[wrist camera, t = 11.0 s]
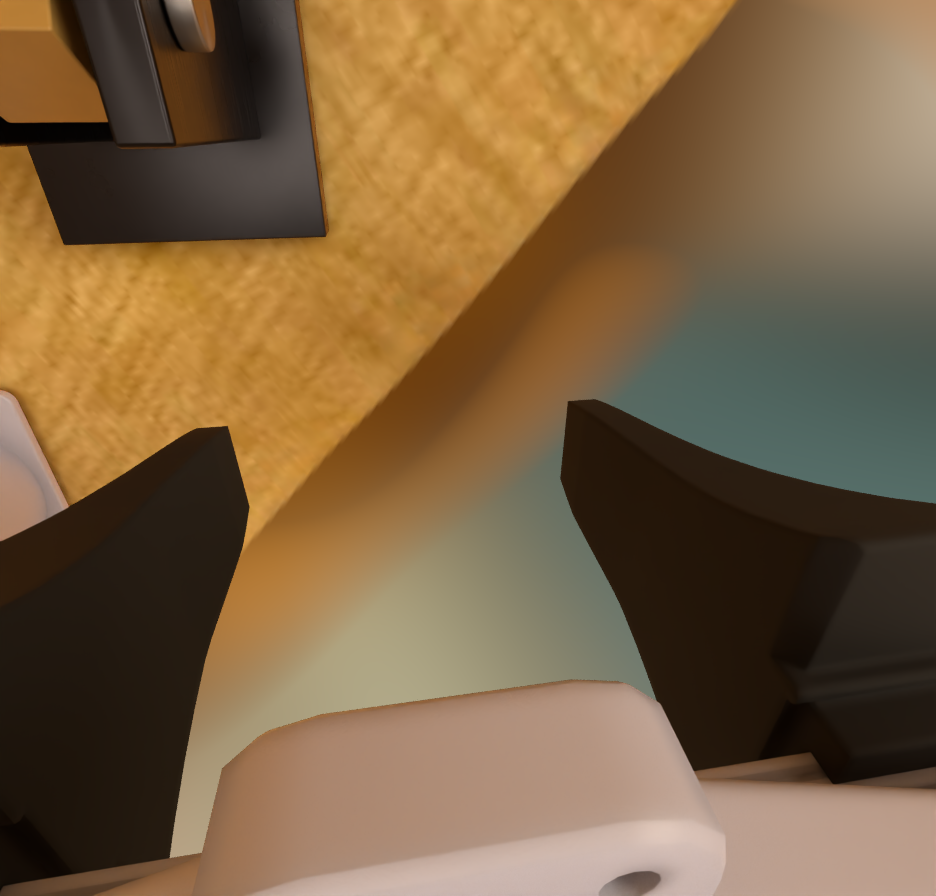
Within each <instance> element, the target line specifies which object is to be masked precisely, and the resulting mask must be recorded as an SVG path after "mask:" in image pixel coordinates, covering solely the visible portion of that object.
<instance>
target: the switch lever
mask: <svg viewBox="0 0 936 896" xmlns="http://www.w3.org/2000/svg"><path fill="white" fill-rule="evenodd" d="M0 116H1V117H2V118H3V119H5V120H6V121H7V122H10V123H38V122H108V120H107V117H106V113H105V110H104V107H103V103H102V100H101V97H100V93H99V90H98V87H97V83H96V80H95V77H94V73H93V70H92V67H91V63H90V60H89V57H88V53H87V50H86V47H85V43H84V40H83V37H82V33H81V30H80V27H79V23H78V20H77V17H76V13H75V10H74V7H73V3H72V0H0Z"/></svg>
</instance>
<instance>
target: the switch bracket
mask: <svg viewBox="0 0 936 896" xmlns="http://www.w3.org/2000/svg"><path fill="white" fill-rule="evenodd" d="M72 3H73V7H74V10H75V13H76V17H77V20H78V23H79V27H80V30H81V33H82V37H83V40H84V43H85V47H86V50H87V53H88V57H89V60H90V63H91V67H92V70H93V73H94V77H95V80H96V83H97V87H98V90H99V93H100V97H101V100H102V103H103V107H104V110H105V113H106V117H107V120H108V122H38V123H10V122H7V121H6V120H5V119H3V118H2V117H1V116H0V147H6V146H26V145H27V147H28V150H29V152H30V155H31V158H32V160H33V163H34V166H35V168H36V171H37V174H38V176H39V179H40V182H41V184H42V187H43V190H44V192H45V195H46V198H47V200H48V203H49V206H50V208H51V211H52V214H53V216H54V219H55V222H56V224H57V227H58V230H59V233H60V235H61V238H62V241H63V243H64V245H87V244H118V243H149V242H180V241H211V240H242V239H273V238H304V237H326V235H327V233H328V231H329V227H328V220H327V212H326V204H325V197H324V189H323V182H322V174H321V166H320V159H319V151H318V143H317V136H316V128H315V121H314V113H313V105H312V98H311V90H310V83H309V75H308V67H307V60H306V52H305V44H304V37H303V29H302V22H301V14H300V6H299V0H72Z"/></svg>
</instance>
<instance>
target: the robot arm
mask: <svg viewBox="0 0 936 896" xmlns="http://www.w3.org/2000/svg"><path fill="white" fill-rule="evenodd" d="M560 478H561V482H562V485H563V488H564V491H565V494H566V497H567V500H568V502H569V505H570V508H571V510H572V513H573V515H574V517H575V519H576V521H577V523H578V525H579V527H580V529H581V531H582V533H583V535H584V536H585V538H586V540H587V542H588V544H589V546H590V548H591V550H592V552H593V553H594V555H595V557H596V559H597V561H598V563H599V565H600V566H601V568H602V570H603V572H604V574H605V576H606V578H607V580H608V581H609V583H610V585H611V587H612V589H613V591H614V593H615V595H616V597H617V599H618V601H619V603H620V605H621V608H622V610H623V612H624V615H625V617H626V620H627V622H628V625H629V627H630V630H631V633H632V635H633V637H634V640H635V643H636V645H637V648H638V650H639V653H640V656H641V659H642V661H643V664H644V667H645V669H646V672H647V675H648V678H649V680H650V683H651V686H652V688H653V691H654V694H655V697H656V700H657V701H655V700H654V699H652V698H650V697H649V696H647V695H645V694H644V693H642V692H641V691H639V690H637V689H636V688H634V687H632V686H631V685H629V684H626V683H622V682H618V681H597V680H564V681H558V682H550V683H543V684H536V685H528V686H521V687H514V688H508V689H500V690H493V691H485V692H478V693H471V694H464V695H457V696H449V697H443V698H435V699H428V700H421V701H413V702H406V703H399V704H392V705H385V706H378V707H371V708H363V709H356V710H349V711H342V712H334V713H327V714H321V715H317V716H314V717H311V718H308V719H305V720H301V721H298V722H295V723H292V724H288V725H285V726H282V727H278V728H275V729H272V730H269V731H267V732H265V733H264V734H262V735H260V736H259V737H257V738H256V739H255V740H254V741H253V742H252V743H251V744H249V745H248V746H247V747H246V748H245V749H244V750H243V751H241V752H240V753H239V754H238V755H237V756H236V757H235V758H234V759H232V760H231V761H230V762H229V763H228V764H227V765H226V766H225V767H223V768H222V772H221V776H220V780H219V784H218V788H217V793H216V797H215V801H214V805H213V809H212V813H211V818H210V822H209V826H208V830H207V834H206V839H205V843H204V847H203V851H202V853H199V854H192V855H187V856H180V857H174V858H169V857H170V850H171V843H172V835H173V829H174V822H175V816H176V810H177V804H178V798H179V791H180V786H181V779H182V773H183V768H184V761H185V756H186V751H187V746H188V740H189V735H190V730H191V725H192V720H193V714H194V709H195V704H196V700H197V695H198V691H199V686H200V681H201V677H202V672H203V667H204V663H205V659H206V656H207V652H208V648H209V645H210V642H211V638H212V635H213V633H214V630H215V627H216V624H217V621H218V618H219V615H220V612H221V609H222V607H223V604H224V601H225V598H226V595H227V592H228V589H229V586H230V583H231V581H232V578H233V575H234V572H235V569H236V565H237V562H238V560H239V557H240V553H241V550H242V547H243V542H244V537H245V532H246V526H247V520H248V513H249V503H248V499H247V496H246V492H245V488H244V485H243V481H242V477H241V473H240V470H239V466H238V462H237V459H236V455H235V451H234V447H233V444H232V440H231V436H230V433H229V429H228V426H223V427H209V428H196V429H194V430H192V431H190V432H188V433H186V434H185V435H183V436H181V437H180V438H178V439H176V440H175V441H173V442H172V443H170V444H169V445H167V446H166V447H164V448H163V449H161V450H159V451H158V452H156V453H155V454H153V455H152V456H150V457H149V458H147V459H146V460H144V461H143V462H141V463H140V464H138V465H137V466H135V467H134V468H132V469H131V470H129V471H128V472H126V473H125V474H123V475H121V476H120V477H118V478H117V479H115V480H113V481H112V482H110V483H108V484H107V485H105V486H103V487H102V488H100V489H98V490H97V491H95V492H93V493H92V494H90V495H88V496H87V497H85V498H83V499H82V500H80V501H79V502H77V503H75V504H73V505H72V506H70V507H69V505H68V503H67V501H66V499H65V497H64V495H63V493H62V491H61V489H60V487H59V485H58V483H57V481H56V479H55V477H54V475H53V473H52V470H51V468H50V466H49V464H48V462H47V460H46V458H45V456H44V454H43V452H42V450H41V448H40V446H39V444H38V442H37V440H36V437H35V435H34V433H33V431H32V429H31V427H30V425H29V423H28V421H27V419H26V417H25V415H24V413H23V411H22V409H21V407H20V405H19V402H18V401H17V399H16V398H15V397H14V396H13V395H12V394H10V393H9V392H6V391H4V390H0V896H936V504H934V503H926V502H919V501H911V500H903V499H895V498H888V497H882V496H877V495H871V494H866V493H859V492H854V491H849V490H844V489H839V488H834V487H830V486H825V485H820V484H815V483H812V482H808V481H803V480H800V479H796V478H792V477H788V476H784V475H780V474H776V473H773V472H769V471H766V470H763V469H759V468H756V467H753V466H750V465H747V464H744V463H741V462H739V461H736V460H732V459H729V458H727V457H724V456H721V455H719V454H715V453H713V452H710V451H708V450H706V449H703V448H701V447H699V446H696V445H694V444H692V443H689V442H687V441H684V440H682V439H680V438H678V437H676V436H673V435H671V434H669V433H667V432H665V431H663V430H660V429H658V428H656V427H654V426H652V425H650V424H648V423H646V422H644V421H642V420H640V419H638V418H636V417H634V416H632V415H630V414H628V413H626V412H624V411H622V410H620V409H618V408H615V407H613V406H611V405H609V404H606V403H604V402H601V401H598V400H595V399H593V400H578V401H568V407H567V418H566V427H565V437H564V447H563V457H562V467H561V477H560Z"/></svg>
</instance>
